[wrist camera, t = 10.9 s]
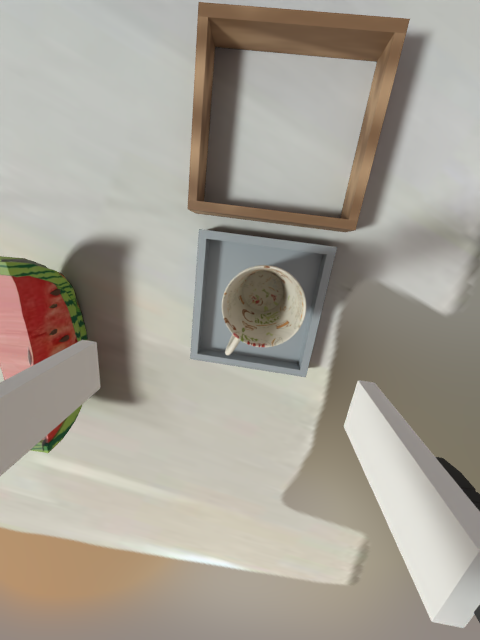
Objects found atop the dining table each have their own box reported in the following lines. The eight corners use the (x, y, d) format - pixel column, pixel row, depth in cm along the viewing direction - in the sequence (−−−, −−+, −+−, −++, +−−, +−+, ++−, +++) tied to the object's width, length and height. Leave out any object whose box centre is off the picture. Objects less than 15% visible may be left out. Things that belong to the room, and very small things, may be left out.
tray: (203, 230, 31) (199, 229, 29) (331, 247, 31) (337, 247, 28) (194, 351, 37) (190, 358, 35) (303, 368, 36) (305, 377, 34)
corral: (207, 34, 26) (198, 2, 22) (389, 50, 25) (409, 19, 21) (195, 213, 31) (187, 209, 28) (345, 232, 30) (355, 230, 27)
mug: (305, 279, 32) (324, 293, 22) (258, 352, 35) (256, 391, 26) (252, 248, 31) (247, 248, 21) (209, 325, 35) (189, 354, 25)
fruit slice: (98, 407, 42) (50, 454, 32) (65, 403, 42) (8, 448, 33) (79, 256, 34) (9, 259, 25) (39, 253, 35) (-46, 255, 25)
